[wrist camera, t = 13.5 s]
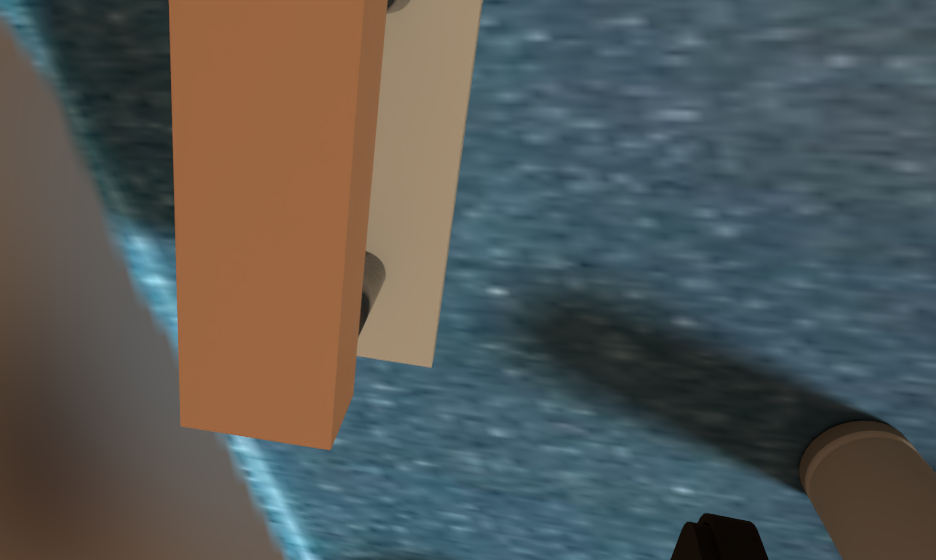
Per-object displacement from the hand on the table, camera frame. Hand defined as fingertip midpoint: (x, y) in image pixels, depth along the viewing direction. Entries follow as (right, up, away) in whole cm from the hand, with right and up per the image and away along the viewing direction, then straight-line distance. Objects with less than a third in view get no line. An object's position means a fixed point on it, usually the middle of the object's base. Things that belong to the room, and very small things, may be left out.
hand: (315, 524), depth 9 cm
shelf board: (-5, +8, +18) cm, 20 cm away
